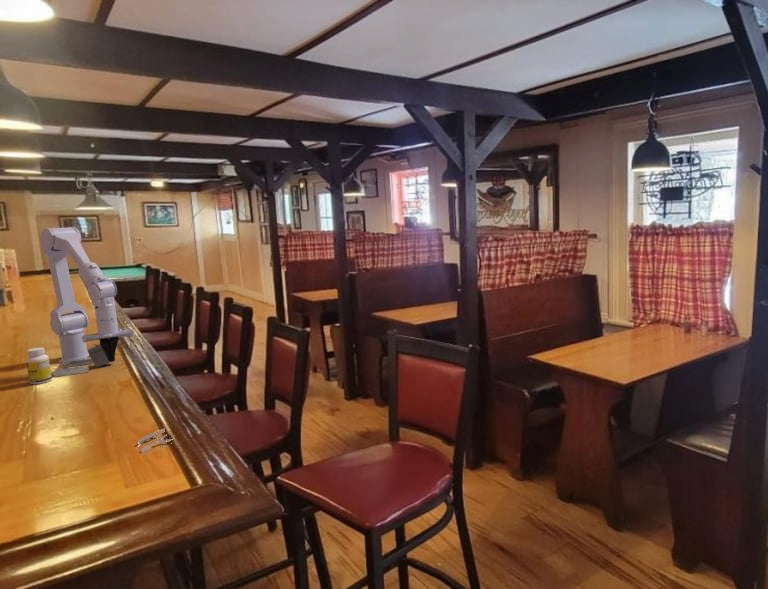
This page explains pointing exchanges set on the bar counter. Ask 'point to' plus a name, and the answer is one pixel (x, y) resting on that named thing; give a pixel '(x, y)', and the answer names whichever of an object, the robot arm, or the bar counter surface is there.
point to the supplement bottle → (38, 366)
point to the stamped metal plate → (150, 436)
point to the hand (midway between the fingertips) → (112, 361)
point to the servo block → (98, 355)
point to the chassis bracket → (65, 370)
